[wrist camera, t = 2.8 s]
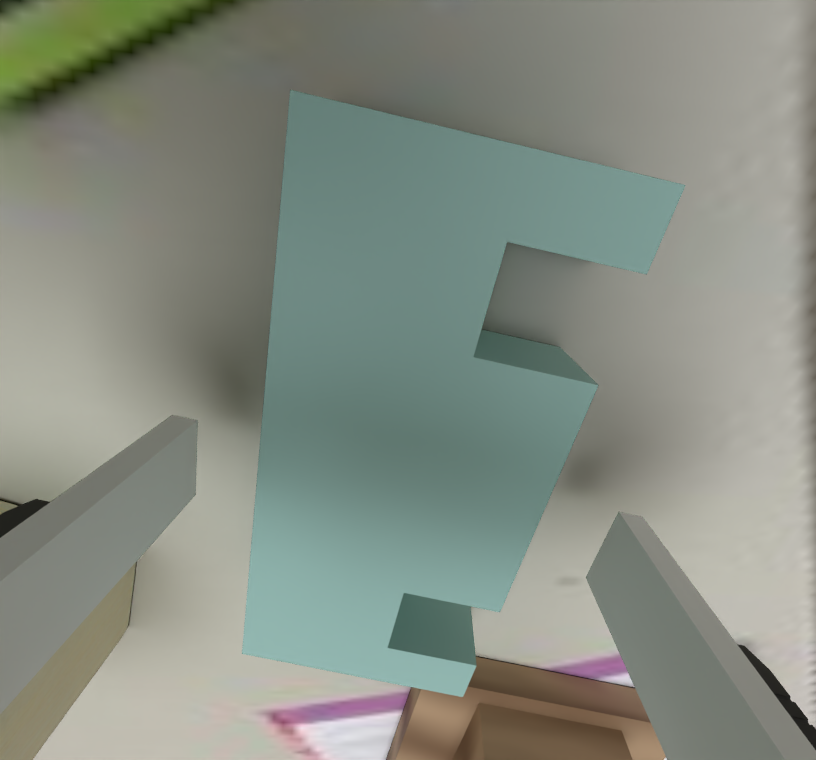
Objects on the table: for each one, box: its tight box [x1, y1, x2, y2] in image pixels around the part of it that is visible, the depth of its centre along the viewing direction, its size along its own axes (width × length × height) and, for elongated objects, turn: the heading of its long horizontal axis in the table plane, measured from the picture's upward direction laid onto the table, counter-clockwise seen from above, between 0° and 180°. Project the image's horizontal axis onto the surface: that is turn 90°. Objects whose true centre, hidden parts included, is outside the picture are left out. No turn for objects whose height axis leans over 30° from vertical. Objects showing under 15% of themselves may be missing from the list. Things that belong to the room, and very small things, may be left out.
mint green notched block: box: [242, 90, 685, 697], centre depth 14 cm, size 19×9×4 cm, turn 168°
